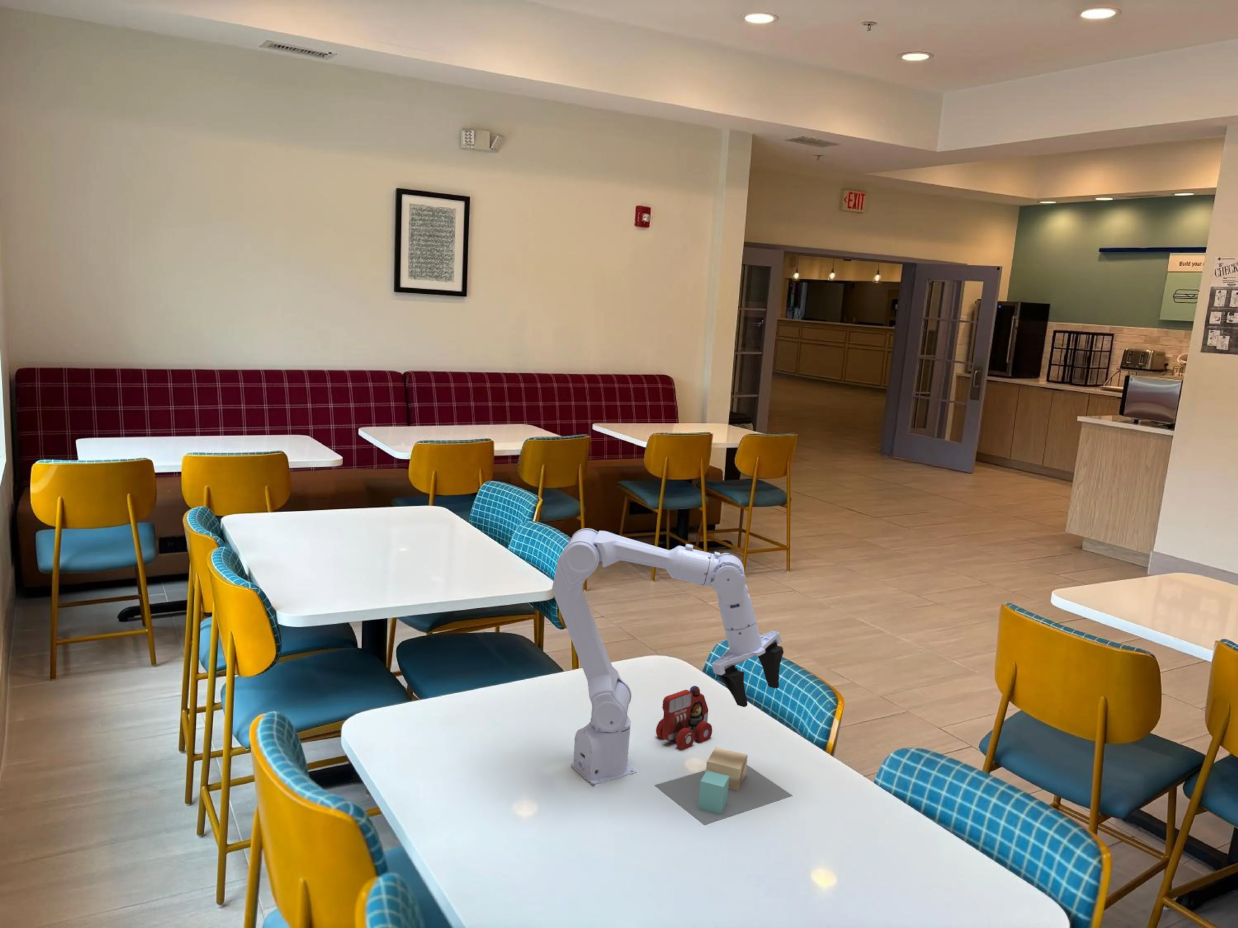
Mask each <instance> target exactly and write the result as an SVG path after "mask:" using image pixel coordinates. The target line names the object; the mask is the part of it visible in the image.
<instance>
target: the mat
mask: <svg viewBox="0 0 1238 928" xmlns="http://www.w3.org/2000/svg"><path fill="white" fill-rule="evenodd" d="M705 773H706V769H705V770H701V771H698V772H695V773H694V772H693V773H692V774H688V775H684V776H681V777H678V778H675V779H670V780H668V781H667V780H666V781H663V782H661V783H658V784H654V785H653V786H654V787H656V788H657V789H658V790H660V792H662V793H663V794H664V795H666V796H667V797H668V798H670V800H672V801H673V802H675V803H676V804H677V805H678V806H679V807H681V808H682V809H683V810H685V811H686V812H687V813H688V814H689V815H691V816H692V817H693V818H694V819H696V820H697V821H698V822H699V823H701V824H702V825H703V826H707V825H710V824H712V823H715V822H718V821H722V820H724V819H727V818H730V817H731V818H732V817H733V816H736V815H740V814H742V813H743V814H744V813H746V812H749V811H751V810H755V809H758V808H760V807H763V806H766V805H769V804H772V803H775V802H779V801H781V800H784V799H787V798H790V797H793V794H791V793H790V792H788V791H787V790H785V789H784V788H782V787H781V786H780V785H778V784H776V783H775V782H774V781H772V780H771V779H769V778H768V777H766V776H764V775H763V774H761V773H760V772H759V771H757V770H755V769H754V768H752V767H751V766H750V765H748V764H747V767H746V775H745V777H744V779H743V781H742V783H741V785H740V787H739V789H738V790H734V789H730V788H728V796H727V804H726V806H725V807H724V809H723V811H722V813H721V814H717V813H713V812H710V811H706V810H702V809H698V801H699V791H700V781H701V779H702V778H703V776H704V774H705Z"/></svg>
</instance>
